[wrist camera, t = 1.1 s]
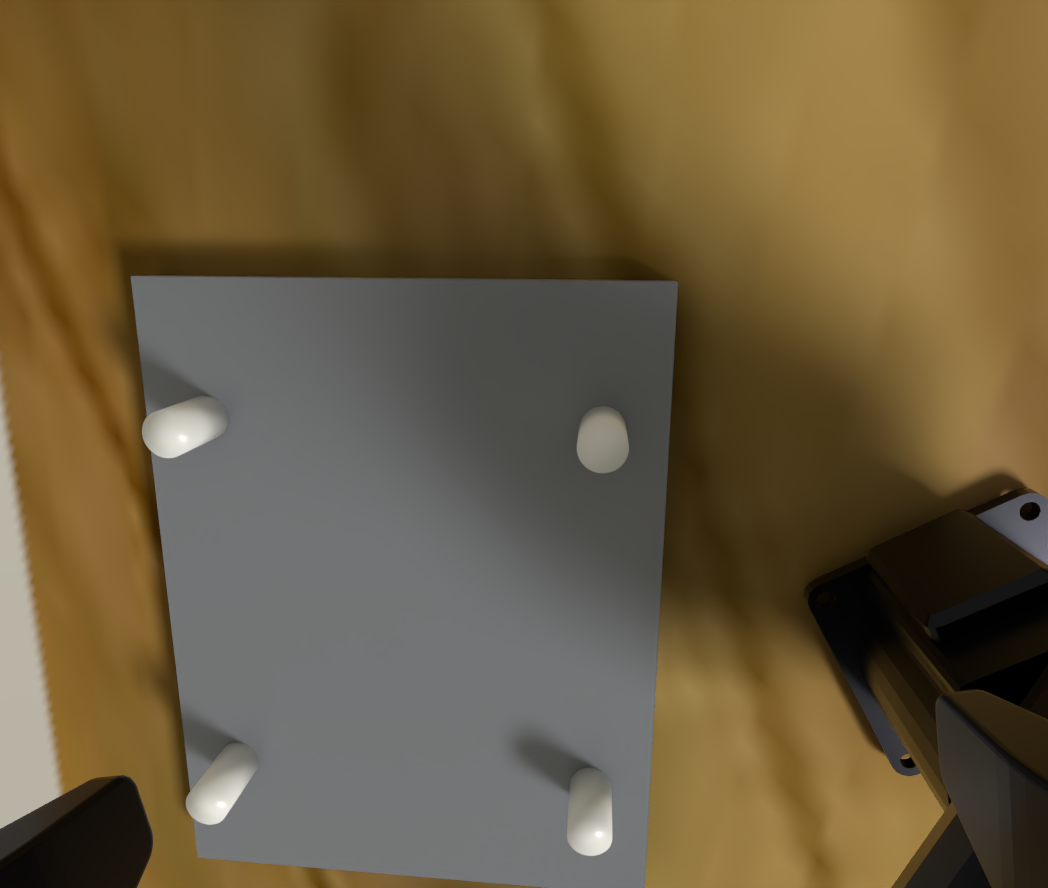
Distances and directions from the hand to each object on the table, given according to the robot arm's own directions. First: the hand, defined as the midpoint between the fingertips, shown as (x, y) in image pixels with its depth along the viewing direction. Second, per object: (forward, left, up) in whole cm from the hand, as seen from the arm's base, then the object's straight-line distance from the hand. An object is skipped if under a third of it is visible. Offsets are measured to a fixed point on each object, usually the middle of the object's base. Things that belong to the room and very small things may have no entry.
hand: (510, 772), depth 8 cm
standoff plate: (-1, +6, -13) cm, 14 cm away
